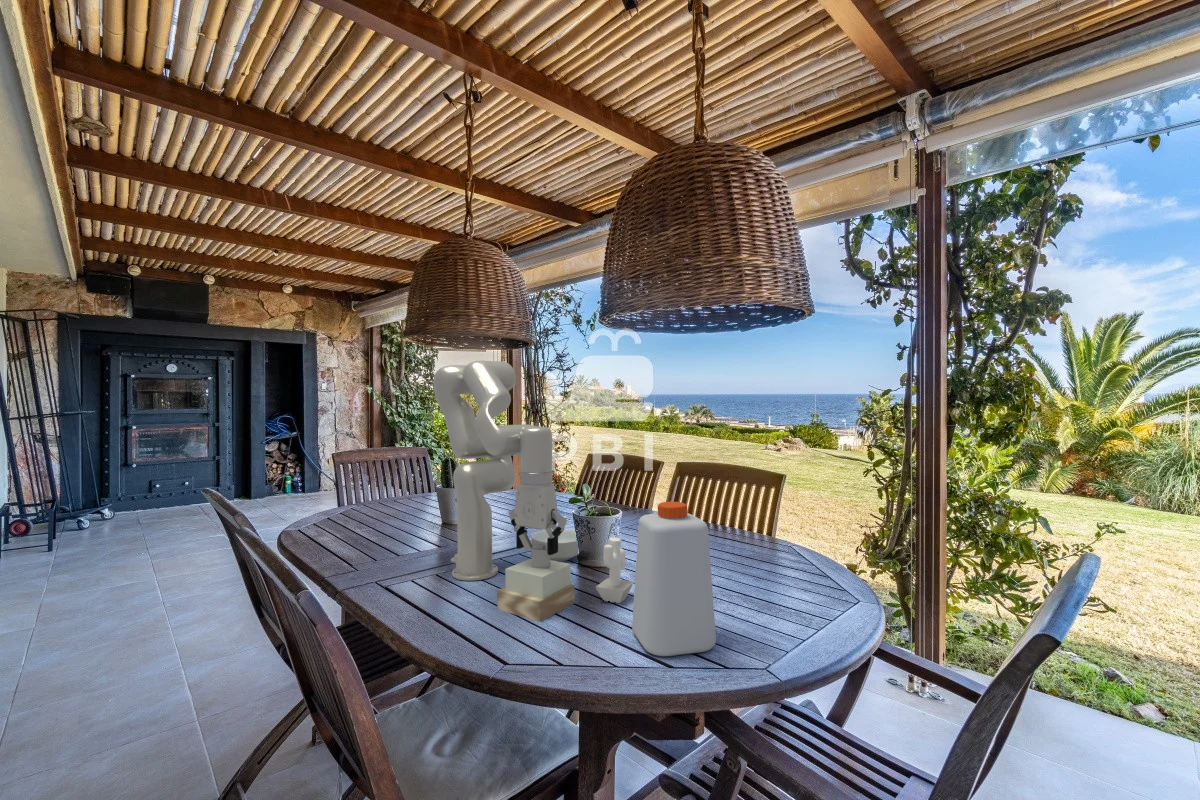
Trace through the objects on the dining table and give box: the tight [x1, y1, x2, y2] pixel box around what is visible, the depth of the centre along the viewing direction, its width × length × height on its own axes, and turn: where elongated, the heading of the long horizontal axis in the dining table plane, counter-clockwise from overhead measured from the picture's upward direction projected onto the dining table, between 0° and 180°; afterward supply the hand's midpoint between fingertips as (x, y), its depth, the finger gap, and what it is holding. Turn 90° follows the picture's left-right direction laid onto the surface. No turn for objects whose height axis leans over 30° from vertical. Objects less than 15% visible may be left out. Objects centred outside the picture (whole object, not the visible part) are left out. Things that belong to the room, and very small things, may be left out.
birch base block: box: [496, 583, 576, 623], centre depth 132 cm, size 13×13×5 cm
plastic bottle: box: [631, 501, 717, 657], centre depth 114 cm, size 15×15×28 cm
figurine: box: [595, 536, 635, 604], centre depth 136 cm, size 7×9×15 cm
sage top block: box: [505, 557, 572, 599], centre depth 132 cm, size 11×11×5 cm
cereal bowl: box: [531, 528, 579, 562], centre depth 170 cm, size 17×17×7 cm
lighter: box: [519, 532, 550, 568], centre depth 132 cm, size 7×2×8 cm, turn 80°
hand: (537, 550), depth 132 cm, fingers open, 9 cm apart
